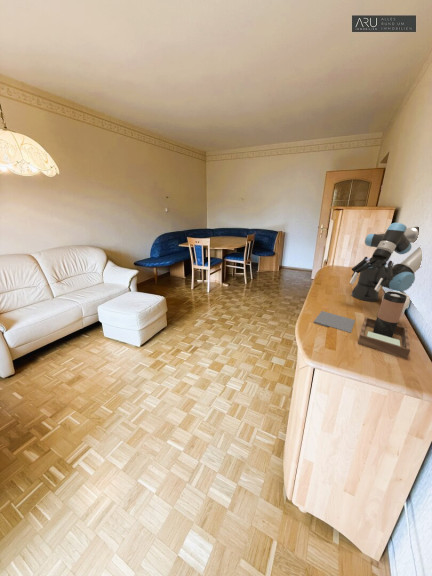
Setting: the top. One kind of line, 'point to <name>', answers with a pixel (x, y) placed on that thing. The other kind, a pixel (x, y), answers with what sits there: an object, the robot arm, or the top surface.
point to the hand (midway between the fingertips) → (363, 286)
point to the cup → (405, 301)
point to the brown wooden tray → (386, 346)
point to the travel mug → (389, 313)
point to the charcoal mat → (335, 321)
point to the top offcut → (384, 338)
